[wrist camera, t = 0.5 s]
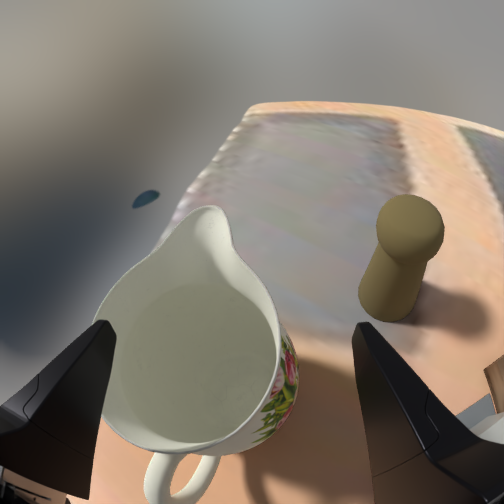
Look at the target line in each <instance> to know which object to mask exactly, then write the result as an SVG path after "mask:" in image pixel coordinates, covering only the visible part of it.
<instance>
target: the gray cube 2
mask: <svg viewBox="0 0 504 504" xmlns="http://www.w3.org/2000/svg"><path fill="white" fill-rule="evenodd" d="M469 430H470V431H472V432H473V433H474V434H475V435H477V436H478V437H480V438H482V439H484V440H488V441H492V442H496V443H501V444H504V412H502V413H498V414H495V415H491V416H488V417H486V418H485V419H484V420H482V421H481V422H479V423H478V424H477V425H475V426H474V427H472V428H471V429H469Z"/></svg>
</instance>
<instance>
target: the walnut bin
mask: <svg viewBox="0 0 504 504" xmlns="http://www.w3.org/2000/svg"><path fill="white" fill-rule="evenodd" d="M484 372H485V375H486V378H487V381H488V384H489V387H490V390H491V393H492V397H493V400H494V403H495V407H496V410H497V414H498V413H502V412H504V355H503V356H501V357H500V358H499V359H497V360H496V361H495V362H493V363H492V364H491V365H489V366H488V367H487V368H485V369H484Z"/></svg>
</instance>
